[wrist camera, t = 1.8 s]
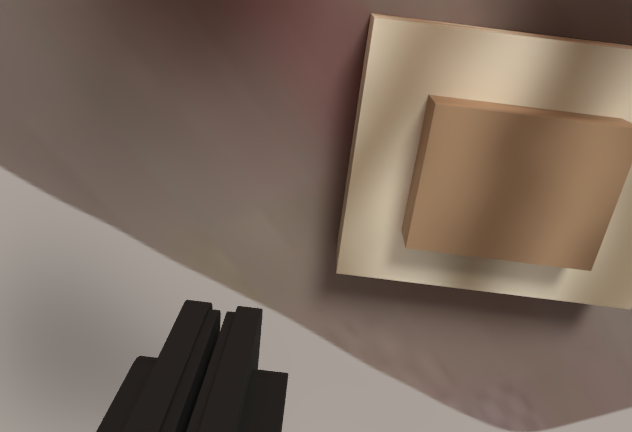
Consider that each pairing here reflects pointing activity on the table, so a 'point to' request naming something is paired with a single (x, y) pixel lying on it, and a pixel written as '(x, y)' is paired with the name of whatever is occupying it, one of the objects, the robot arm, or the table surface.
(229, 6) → the table surface
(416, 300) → the table surface
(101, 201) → the table surface
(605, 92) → the deck
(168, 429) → the robot arm
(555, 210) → the tile
